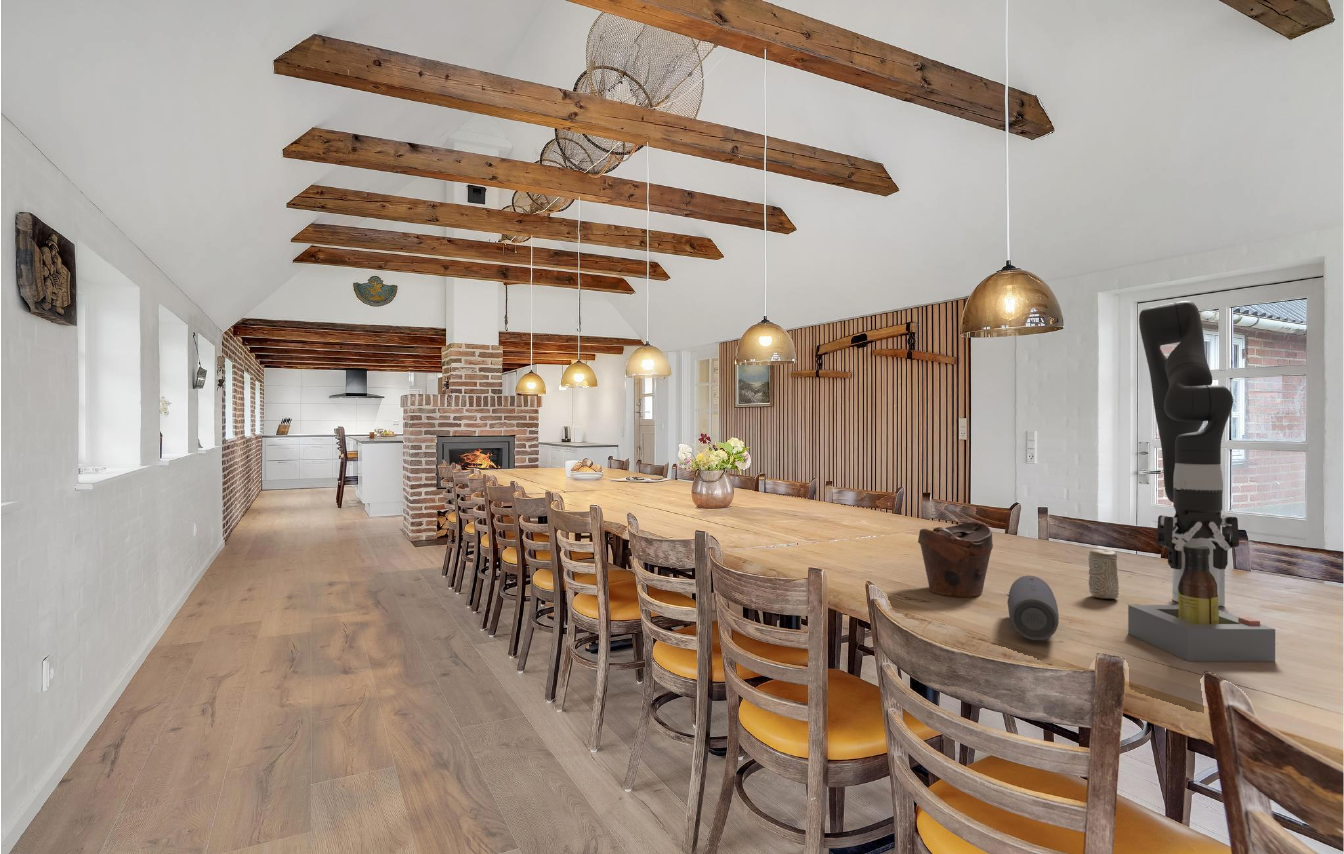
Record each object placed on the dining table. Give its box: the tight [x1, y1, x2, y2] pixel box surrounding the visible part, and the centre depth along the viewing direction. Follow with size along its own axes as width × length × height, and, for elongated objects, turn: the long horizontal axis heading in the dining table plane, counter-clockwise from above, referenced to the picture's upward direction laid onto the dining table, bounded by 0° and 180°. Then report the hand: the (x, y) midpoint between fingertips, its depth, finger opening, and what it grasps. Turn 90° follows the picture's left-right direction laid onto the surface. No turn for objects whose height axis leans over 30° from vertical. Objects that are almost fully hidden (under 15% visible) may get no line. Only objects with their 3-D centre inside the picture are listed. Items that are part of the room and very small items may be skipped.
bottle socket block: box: [1127, 604, 1276, 663], centre depth 128 cm, size 16×16×7 cm
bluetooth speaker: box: [1007, 575, 1060, 641], centre depth 138 cm, size 23×9×10 cm, turn 152°
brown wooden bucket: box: [917, 521, 994, 598], centre depth 170 cm, size 18×20×18 cm
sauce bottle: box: [1177, 545, 1220, 624], centre depth 128 cm, size 6×6×20 cm
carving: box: [1088, 548, 1120, 600], centre depth 164 cm, size 6×8×12 cm
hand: (1197, 568), depth 128 cm, fingers open, 8 cm apart
